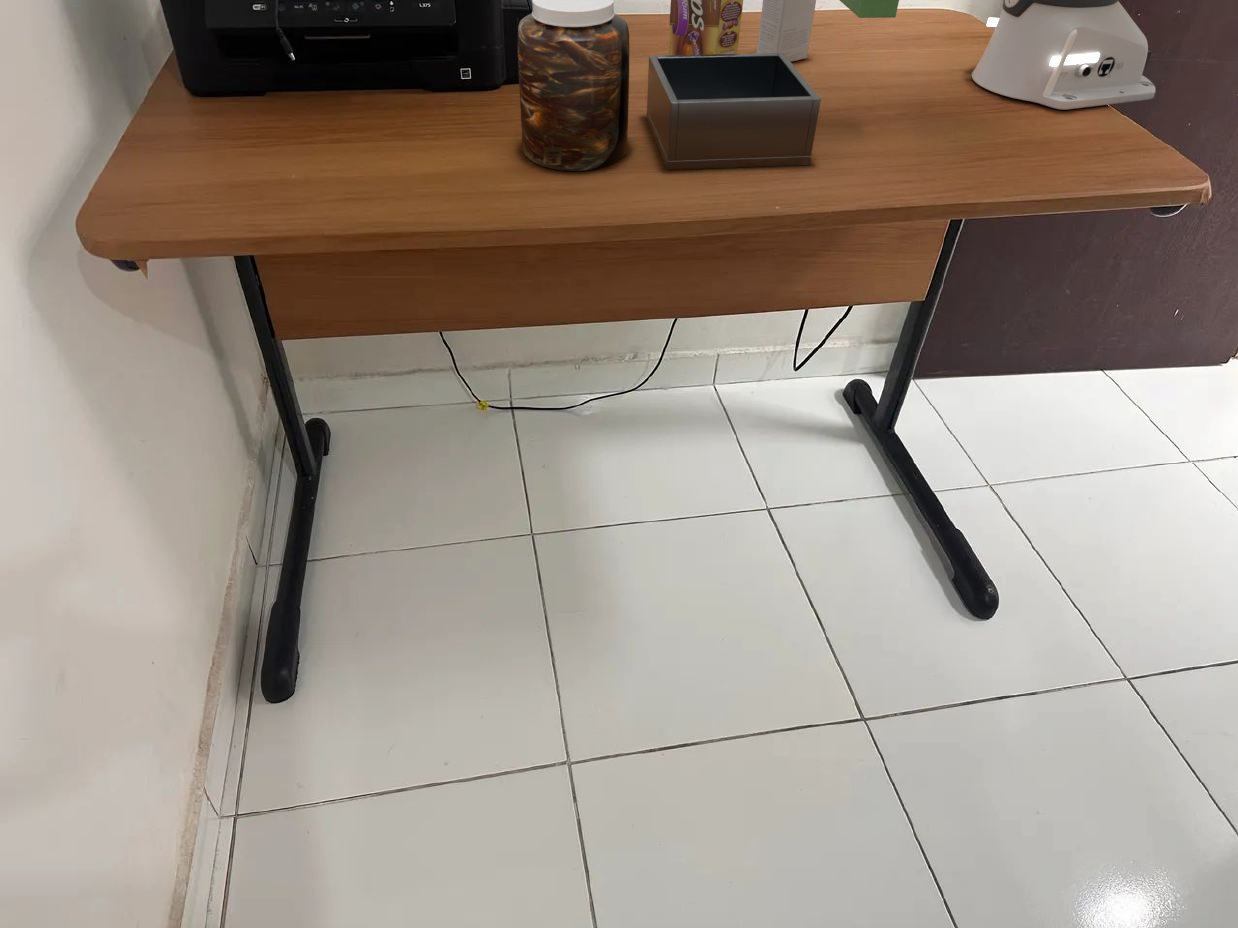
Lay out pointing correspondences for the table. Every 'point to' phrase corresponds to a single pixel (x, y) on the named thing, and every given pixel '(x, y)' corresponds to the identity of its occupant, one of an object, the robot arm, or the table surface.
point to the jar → (574, 84)
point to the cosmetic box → (786, 27)
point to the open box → (730, 111)
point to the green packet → (872, 8)
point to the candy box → (704, 27)
